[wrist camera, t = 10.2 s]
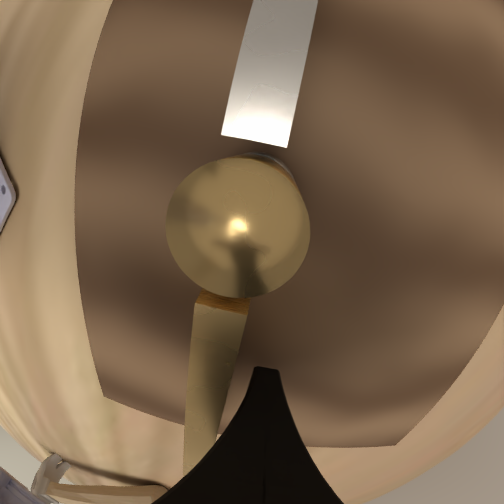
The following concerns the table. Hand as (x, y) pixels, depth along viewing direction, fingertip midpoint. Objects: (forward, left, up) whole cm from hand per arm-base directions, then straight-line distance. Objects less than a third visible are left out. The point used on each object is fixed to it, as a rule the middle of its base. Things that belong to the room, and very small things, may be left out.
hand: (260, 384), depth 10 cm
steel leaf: (-9, +7, -2) cm, 12 cm away
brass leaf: (-2, 0, -1) cm, 3 cm away
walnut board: (-4, +6, -2) cm, 7 cm away
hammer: (+14, -39, -3) cm, 41 cm away
